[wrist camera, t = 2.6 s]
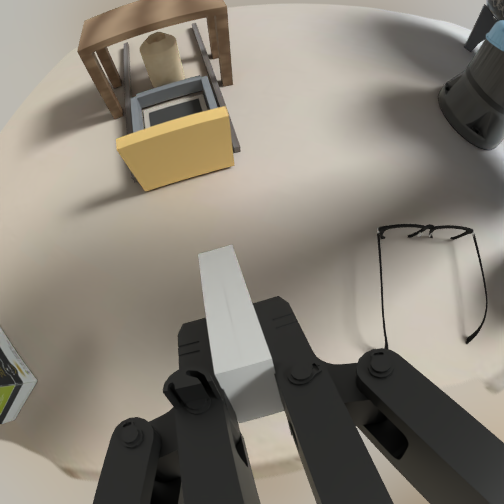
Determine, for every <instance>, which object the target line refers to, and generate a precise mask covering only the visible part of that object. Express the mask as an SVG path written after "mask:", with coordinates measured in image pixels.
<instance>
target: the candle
mask: <svg viewBox="0 0 504 504" xmlns="http://www.w3.org/2000/svg"><path fill="white" fill-rule="evenodd" d="M140 52H141V55H142V58H143V61H144V64H145V67H146V69H147V72H148V75H149V78H150V80H151V83H152V86H153V88H156V87H160V86H163V85H166V84H170V83H173V82H177V81H180V80H184V79H185V76H184V72H183V68H182V63H181V59H180V55H179V51H178V47H177V42H176V39H175V37H174V36H172V35H169V34H165V33H162V32H156V33H154V34H151V35H150V36H149V37H148V38H147V39H146V40H145V41H144V42H143V44H142V45H141V47H140Z"/></svg>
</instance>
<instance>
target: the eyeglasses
mask: <svg viewBox="0 0 504 504" xmlns="http://www.w3.org/2000/svg"><path fill="white" fill-rule="evenodd" d="M400 227H417V228H422V229H421V230H419V231H417V232H415V233H413V234H411V235H408V237H413V236H415V235H417V234H418V236H421V235H423V234H422V233H421V232H423V231H425V230H427V229H430V232H429V237H430V238H433V237H432V232H433V231H434V230H436V229H442V228H454V229H462V230H466V231H465V232H464V233H462V234H460V235H458V236H455V237H451V239H457V238H460V237H462V236H464V235H467V234H471V233H473V234H472V235H473V239H474V242H475V246H476V250H477V254H478V258H479V262H480V267H481V271H482V276H483V281H484V287H485V294H486V310H485V315H484V319H483V321H482V323H481V325H480V327H479V328H478V329H477V330H476V331H475V332H474V333H473V334H472V335H471V336H469V337H468V338H467V341H466V344H468V343H469V342H470V341H471V340H472V339H473V338H474V337H475V336H476V335H477V334H478V332H479V331H480V329H481V327H482V325H483V323H484V321H485V318H486V313H487V291H486V284H485V279H484V273H483V268H482V263H481V259H480V254H479V250H478V246H477V242H476V238H475V235H474V232H473V229H470V228H467V227H462V226H450V225H446V226H433V225H426V226H423V225H417V224H398V225H389V226H382V227H379V228H377V238H378V250H379V263H380V279H381V300H382V317H383V328H384V336H385V348H384V349H388V342H387V337H386V330H385V321H384V308H383V286H382V265H381V249H380V237H381V239H385V237H384V236H383V233H384V231H385V230H387V229H391V228H400ZM419 233H421V235H420V234H419ZM379 234H380V236H379Z"/></svg>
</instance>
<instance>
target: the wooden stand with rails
mask: <svg viewBox="0 0 504 504" xmlns="http://www.w3.org/2000/svg"><path fill="white" fill-rule="evenodd" d="M205 17H206V18H207V25H208V33H209V40H210V47H211V55H212V57H213V59H215V58H219V64H220V73H221V81H222V84H223V86H228V85H233V80H232V67H231V54H230V41H229V28H228V15H227V6H226V4H225V2H224V1H223V0H139V1H136V2H133V3H130V4H127V5H124V6H121V7H118V8H115V9H113V10H110V11H107V12H105V13H103V14H100V15H97V16H95V17H92V18H90V19H88V20H85V21H84V25H83V29H82V33H81V38H80V42H79V46H78V51H77V52H78V54H79V56H80V58H81V59H82V61H83V63H84V65H85V67H86V69H87V71H88V73H89V74H90V76H91V78H92V80H93V82H94V84H95V85H96V87H97V89H98V91H99V93H100V94H101V96H102V98H103V100H104V102H105V103H106V105H107V107H108V109H109V110H110V112H111V114H112V116H113V117H114V119H117V118H119V117H122V116H123V109H122V107H121V106H120V104H119V102H118V100H117V98H116V96H115V94H114V92H113V90H112V88H111V86H110V84H109V82H108V80H107V78H106V76H105V74H104V72H103V70H102V68H101V66H100V64H99V62H98V60H97V58H96V56H95V53H94V52H95V51H96V53H97V55H98V57H99V59H100V61H101V63H102V65H103V67H104V69H105V71H106V73H107V76H108V78H109V80H110V82H111V84H112V86H113V88H117V87H120V86H122V80H121V78H120V76H119V74H118V71H117V69H116V67H115V65H114V63H113V60H112V58H111V56H110V54H109V51H108V49H107V46H110V45H113V44H115V43H118V42H121V41H123V40H126V39H129V38H132V37H135V36H138V35H141V34H144V33H147V32H151V31H154V30H157V29H161V28H164V27H168V26H172V25H175V24H179V23H183V22H187V21H192V20H196V19H201V18H205ZM192 28H193V31H194V34H195V37H196V40H197V43H198V45H199V48H200V51H201V54H202V57H203V60H204V63H205V66H206V69H207V72H208V75H209V78H210V81H211V84H212V86H213V89H214V92H215V95H216V98H217V101H218V104H219V107H223V106H226V105H225V102H224V99H223V96H222V93H221V91H220V88H219V85H218V82H217V79H216V77H215V74H214V71H213V68H212V66H211V63H210V60H209V57H208V55H207V52H206V49H205V47H204V44H203V41H202V38H201V36H200V33H199V30H198V28H197V25H196V23H193V24H192ZM124 86H125V107H126V123H127V135H128V134H131V133H133V125H132V113H131V99H130V98H132V97H131V81H130V59H129V45H128V42H127V43H124ZM226 109H227V108H226ZM227 112H228V110H227ZM228 115H229V113H228ZM229 121H230V130H231V140H232V146H233V150H234V153H236V152H240V145H239V142H238V139H237V136H236V133H235V130H234V128H233V125H232V122H231V119H230V116H229ZM131 175H132V179H133V180H134V182H137V181H138V180H137V179H136V177H135V176H134V175H133V173H132V172H131Z"/></svg>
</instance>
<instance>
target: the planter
mask: <svg viewBox="0 0 504 504" xmlns="http://www.w3.org/2000/svg"><path fill="white" fill-rule="evenodd" d="M493 16H494V17H495V18H496V19H497V20H496V19H495V18H494V17H493ZM500 20H504V0H487V6H486V5H485V4H484V6H483V8H482V10H481V12H480V15H479V17H478V19H477V21H476V23H475V25H474V28H473V30H472V32H471V34H470V36H469V38H468V40H467V42H466V44H465V46H464V47H465V48H466V49H468V50H469V51H470V52H471V51H472V50H473V49H474V48H475V47H476V46H477V45H478V44H479V43H480V42H482V41H483V40H485V39H486V34H487V33H488V32H490V30H491V29H492V27H493V26H494V24H495V23H496V22H497V21H500Z"/></svg>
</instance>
